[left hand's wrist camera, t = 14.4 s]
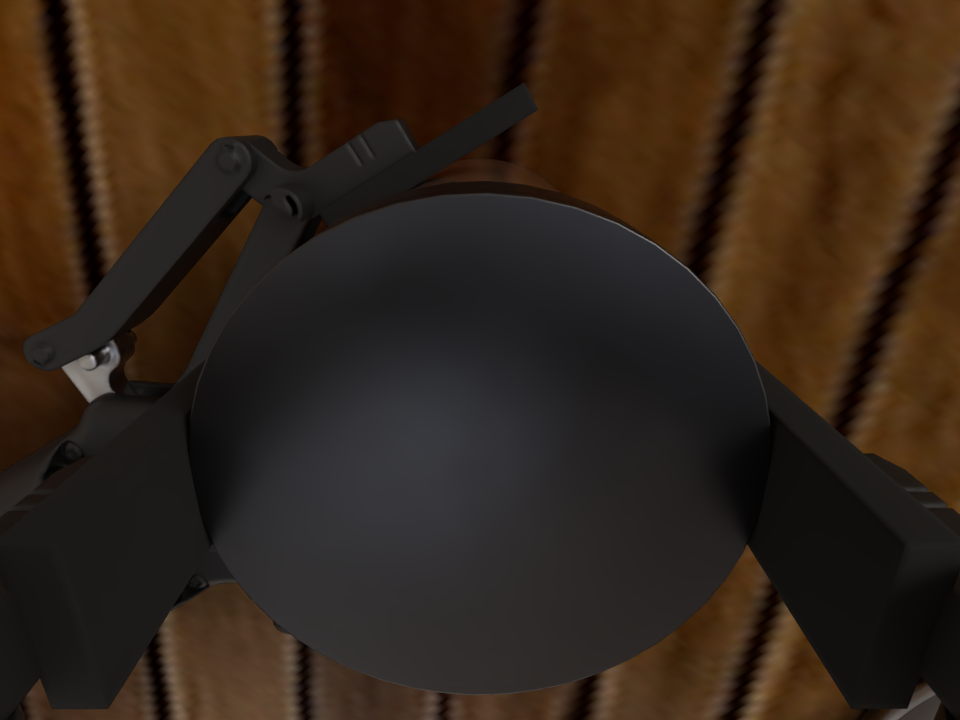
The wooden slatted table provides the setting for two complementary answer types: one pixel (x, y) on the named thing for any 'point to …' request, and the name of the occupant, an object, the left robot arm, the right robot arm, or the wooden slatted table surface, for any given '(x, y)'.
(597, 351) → the lid
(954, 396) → the wooden slatted table surface
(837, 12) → the wooden slatted table surface
